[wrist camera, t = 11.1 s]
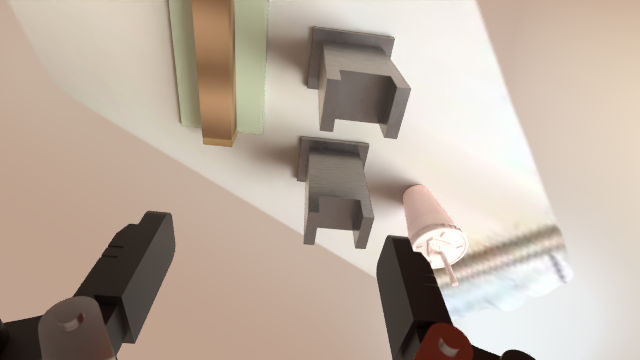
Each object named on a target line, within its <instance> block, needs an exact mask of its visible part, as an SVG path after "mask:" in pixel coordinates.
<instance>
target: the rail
mask: <svg viewBox="0 0 640 360" xmlns="http://www.w3.org/2000/svg"><path fill="white" fill-rule="evenodd" d="M191 2H192V14H193V26H194V38H195V51H196V63H197V75H198V87H199V99H200V111H201V124H202V136H203V144H205V145H216V146H226V147H232V145H233V143H234V140H235V138H236V135H237V111H236V59H235V6H234V0H191Z"/></svg>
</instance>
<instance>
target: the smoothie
mask: <svg viewBox="0 0 640 360" xmlns="http://www.w3.org/2000/svg"><path fill="white" fill-rule="evenodd" d="M403 203H404V209H405V216H406V222H407V228H408V236H409V239H410V242H411V245H412V248H413V251H417V252H421V253H422V254H423V255H424V256H425V258H426V259H427V260H428V261H429V262H430V265H431V267H432V268H442V267H445V268H446V271H447V273H448V275H449V278H450V280H451V283H452V285H453V286H457V285H458V282H457V280H456V278H455V275H454V273H453V271H452V268H451V266H450V265H451V264H453V263H455V262H456V261H458V260H459V259H460V258H461V257H462V256H463V255H464V254H465V252H466V250H467V248H468V240H467V237H466V235H465V233H464V231H463V229H462V228H461V227H459V226H458V225H456V224H455V223H454V222H453V220H452V219H451V218H450V217H449V215H448V214H447V213H446V211H445V210H444V208H443V207H442V206H441V204H440V203H439V202H438V200H437V199H436V198H435V196H434V195H433V194H432V192H431V191H430V190H429V188H427V187H426V186H423V185H415V186H412V187H410V188H408V189H407V190H406V191H405V192H404V194H403Z"/></svg>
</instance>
